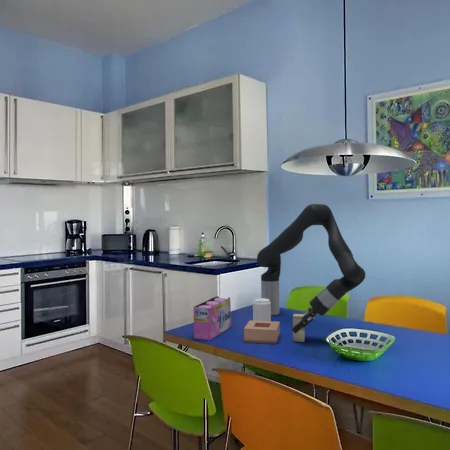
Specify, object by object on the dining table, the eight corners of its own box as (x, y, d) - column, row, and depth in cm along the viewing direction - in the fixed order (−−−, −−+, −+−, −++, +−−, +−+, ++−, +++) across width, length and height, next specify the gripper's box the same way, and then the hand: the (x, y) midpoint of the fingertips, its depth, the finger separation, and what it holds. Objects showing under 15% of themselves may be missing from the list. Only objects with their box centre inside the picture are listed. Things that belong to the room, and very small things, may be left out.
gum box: (217, 324, 200) (216, 295, 200) (232, 325, 197) (232, 296, 197) (193, 338, 179) (192, 306, 178) (210, 340, 175) (209, 308, 175)
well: (249, 332, 185) (249, 320, 185) (279, 334, 182) (279, 321, 182) (244, 341, 173) (244, 328, 172) (276, 343, 170) (276, 330, 169)
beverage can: (264, 328, 191) (264, 302, 190) (249, 326, 196) (249, 300, 195) (274, 324, 197) (273, 299, 197) (259, 322, 202) (259, 297, 202)
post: (293, 337, 177) (293, 314, 176) (304, 338, 176) (304, 314, 175) (293, 341, 172) (292, 316, 172) (304, 341, 171) (303, 317, 171)
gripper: (317, 291, 178) (288, 318, 182) (316, 298, 165) (285, 327, 168) (330, 304, 177) (301, 331, 181) (331, 312, 164) (299, 341, 167)
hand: (294, 329), depth 174 cm, fingers closed on post, 4 cm apart
